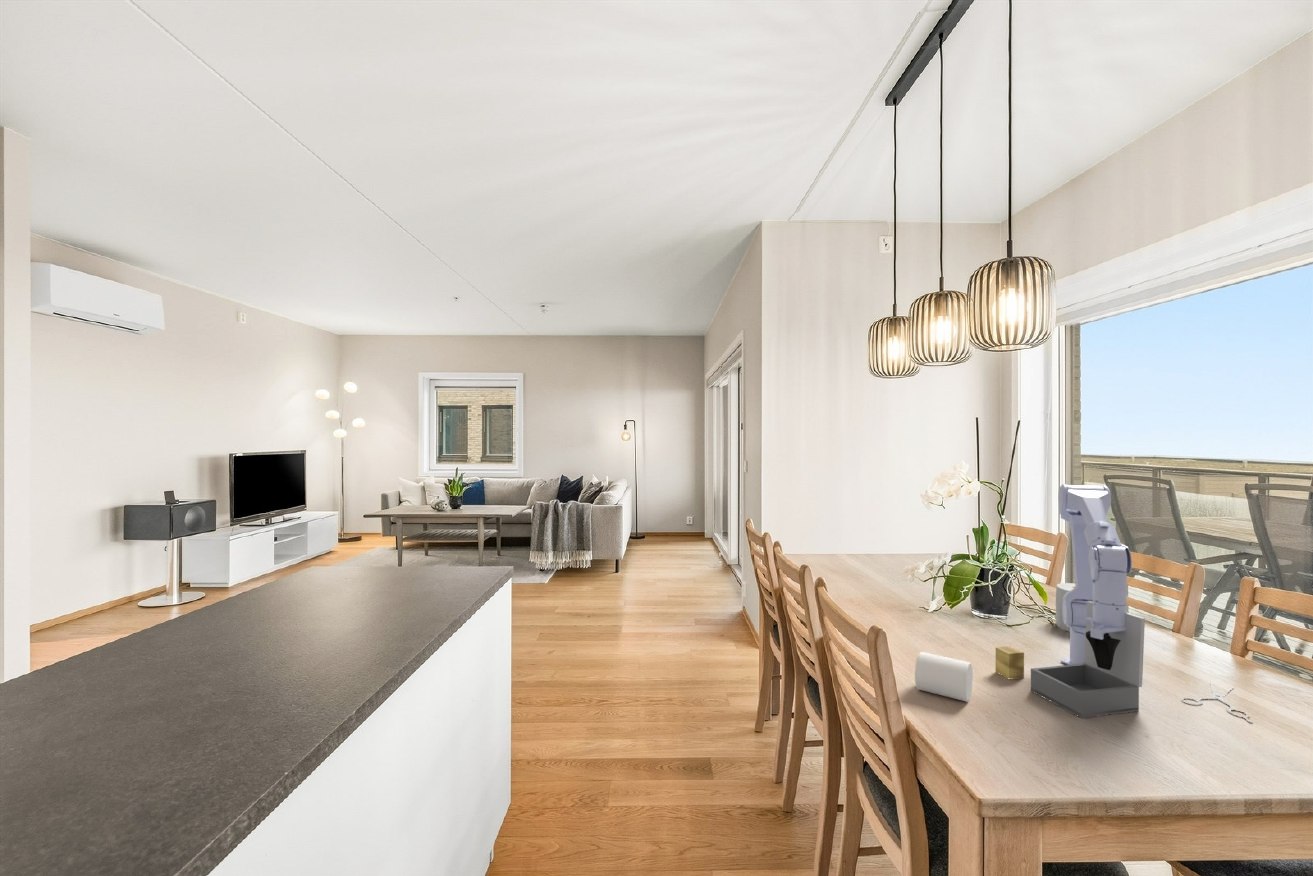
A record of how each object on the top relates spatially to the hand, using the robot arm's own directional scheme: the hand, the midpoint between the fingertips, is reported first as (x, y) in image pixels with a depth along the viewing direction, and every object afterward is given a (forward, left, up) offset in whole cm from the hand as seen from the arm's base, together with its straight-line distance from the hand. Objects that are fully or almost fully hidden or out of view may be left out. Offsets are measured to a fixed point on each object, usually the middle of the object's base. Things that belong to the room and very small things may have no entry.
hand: (1109, 665), depth 122 cm
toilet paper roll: (-33, -37, -7) cm, 50 cm away
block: (+12, -14, -7) cm, 20 cm away
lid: (-1, 0, +5) cm, 5 cm away
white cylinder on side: (+32, -10, -7) cm, 34 cm away
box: (+7, 0, -7) cm, 10 cm away
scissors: (-23, +4, -8) cm, 25 cm away
